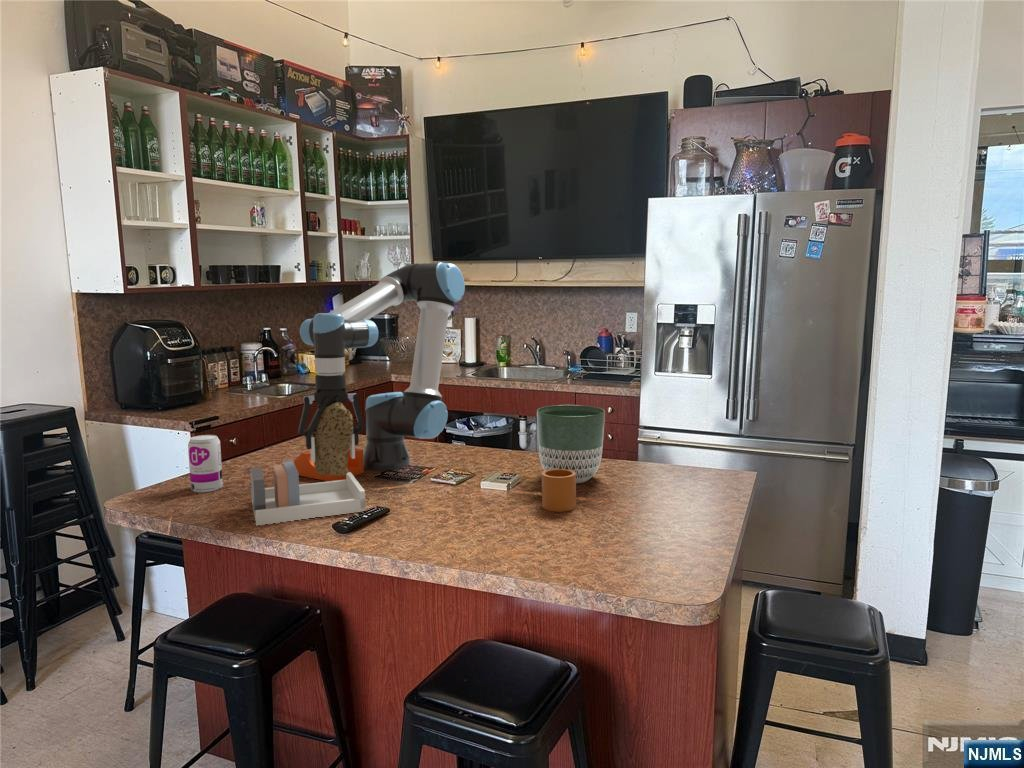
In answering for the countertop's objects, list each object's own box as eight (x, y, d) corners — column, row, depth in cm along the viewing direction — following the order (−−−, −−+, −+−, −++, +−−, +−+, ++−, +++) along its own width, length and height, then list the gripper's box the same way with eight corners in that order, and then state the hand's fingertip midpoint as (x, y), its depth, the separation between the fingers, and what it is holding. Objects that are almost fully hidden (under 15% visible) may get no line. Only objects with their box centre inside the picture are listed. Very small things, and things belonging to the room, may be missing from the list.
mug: (585, 501, 183) (585, 468, 182) (568, 514, 173) (569, 479, 171) (553, 496, 187) (554, 464, 186) (536, 509, 177) (536, 475, 175)
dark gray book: (262, 498, 180) (260, 466, 179) (266, 513, 168) (264, 479, 167) (252, 499, 179) (250, 467, 178) (255, 515, 167) (253, 480, 166)
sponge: (304, 476, 180) (302, 400, 178) (327, 470, 187) (325, 397, 184) (341, 483, 173) (340, 404, 171) (363, 476, 180) (362, 401, 178)
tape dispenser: (363, 476, 209) (363, 449, 208) (332, 486, 199) (331, 458, 198) (322, 468, 219) (321, 443, 218) (290, 477, 208) (289, 450, 207)
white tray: (351, 491, 193) (350, 472, 192) (365, 512, 174) (364, 490, 174) (251, 502, 182) (250, 482, 182) (256, 525, 164) (255, 503, 163)
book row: (294, 497, 183) (292, 461, 182) (300, 512, 171) (298, 472, 170) (274, 500, 181) (272, 462, 180) (279, 514, 169) (277, 474, 168)
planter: (526, 488, 195) (527, 413, 192) (549, 471, 213) (549, 403, 210) (593, 495, 188) (594, 418, 185) (611, 477, 206) (612, 407, 203)
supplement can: (211, 494, 190) (207, 441, 188) (184, 492, 191) (181, 439, 189) (228, 486, 198) (225, 435, 196) (203, 484, 199) (199, 433, 197)
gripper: (370, 370, 184) (372, 452, 187) (283, 374, 176) (287, 460, 179) (376, 373, 177) (378, 458, 180) (286, 377, 169) (290, 466, 172)
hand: (333, 459), depth 179 cm, fingers closed on sponge, 9 cm apart
